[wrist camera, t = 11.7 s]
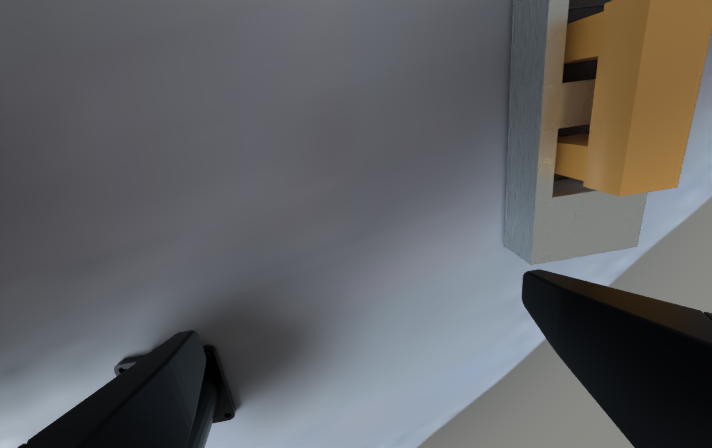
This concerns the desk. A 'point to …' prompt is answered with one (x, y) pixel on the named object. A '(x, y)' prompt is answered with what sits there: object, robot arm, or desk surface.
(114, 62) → the desk surface
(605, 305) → the robot arm
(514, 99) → the rail
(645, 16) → the clip
